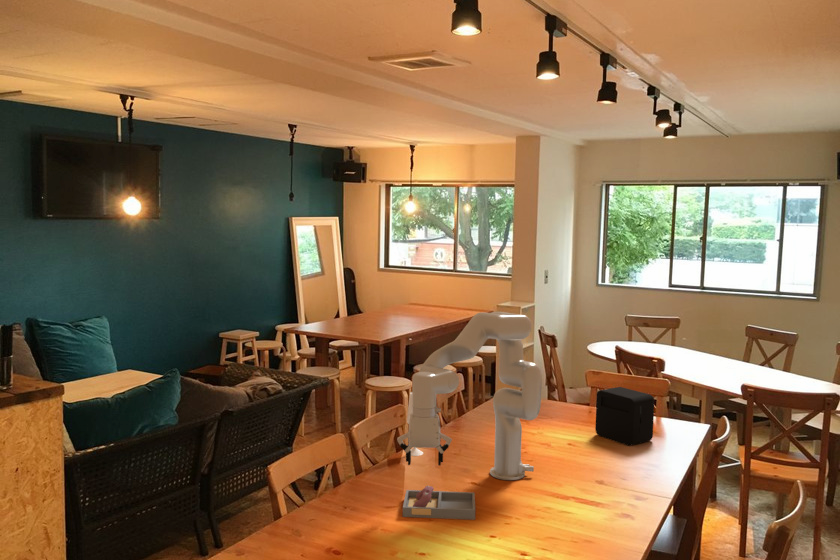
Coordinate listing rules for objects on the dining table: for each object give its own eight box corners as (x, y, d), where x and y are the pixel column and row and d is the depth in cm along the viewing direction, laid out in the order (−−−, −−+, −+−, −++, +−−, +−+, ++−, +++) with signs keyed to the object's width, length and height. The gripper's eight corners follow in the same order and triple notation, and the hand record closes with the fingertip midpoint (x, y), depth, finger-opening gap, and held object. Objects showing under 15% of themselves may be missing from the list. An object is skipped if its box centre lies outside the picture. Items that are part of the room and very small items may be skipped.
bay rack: (474, 501, 231) (474, 492, 231) (475, 520, 217) (475, 510, 217) (406, 498, 233) (406, 489, 232) (402, 517, 218) (402, 507, 218)
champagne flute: (411, 456, 274) (412, 396, 272) (403, 451, 280) (404, 392, 278) (426, 454, 277) (427, 394, 275) (418, 449, 283) (419, 390, 281)
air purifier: (655, 441, 298) (657, 395, 296) (632, 447, 290) (634, 399, 288) (617, 429, 314) (619, 385, 313) (594, 434, 306) (596, 389, 304)
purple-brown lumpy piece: (424, 516, 220) (434, 497, 220) (411, 509, 221) (421, 490, 220) (427, 503, 230) (437, 485, 229) (415, 496, 231) (425, 478, 230)
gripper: (452, 408, 226) (451, 460, 228) (398, 407, 227) (398, 459, 229) (451, 415, 218) (451, 468, 220) (395, 414, 219) (396, 467, 221)
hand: (424, 463), depth 224 cm, fingers open, 9 cm apart
